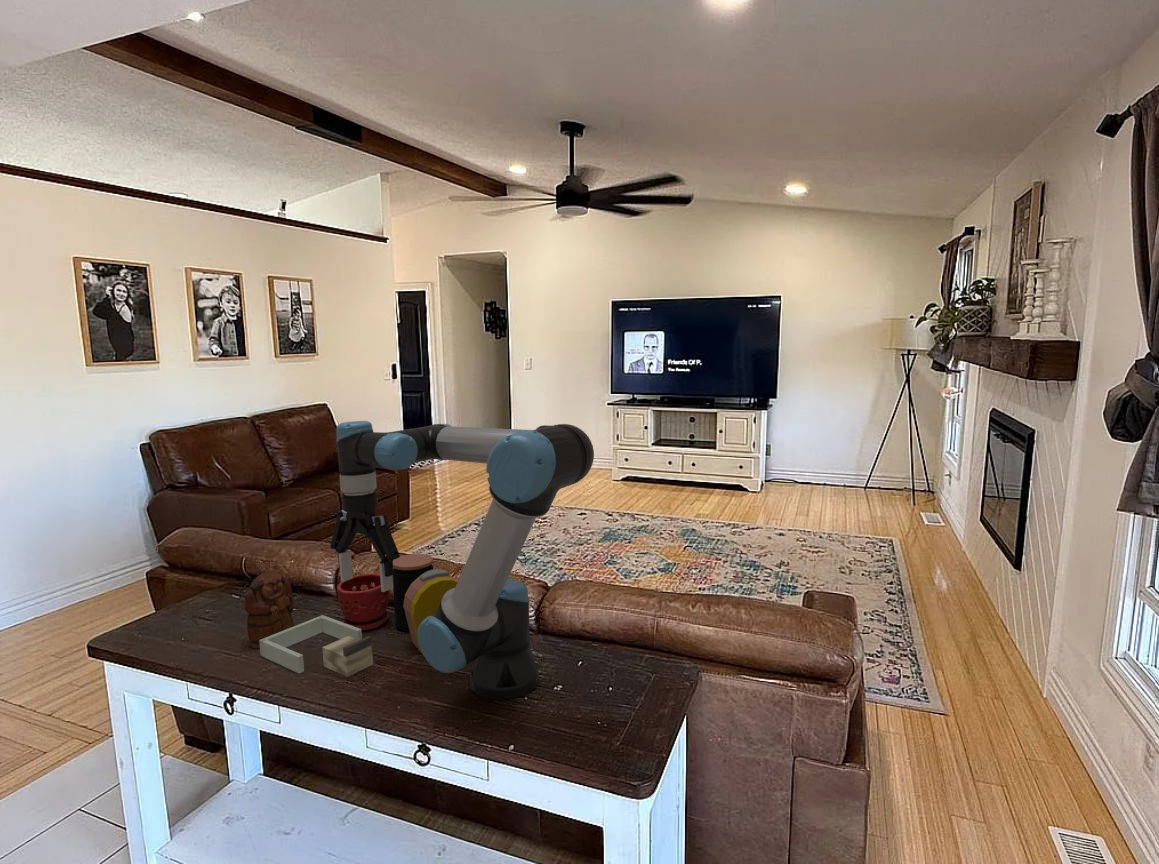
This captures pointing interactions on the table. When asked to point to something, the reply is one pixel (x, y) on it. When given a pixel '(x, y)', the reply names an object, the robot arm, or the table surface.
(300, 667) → the dock
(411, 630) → the alarm clock
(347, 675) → the beige block
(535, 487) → the robot arm
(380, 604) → the plant pot
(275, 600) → the wooden figurine
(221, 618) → the table surface
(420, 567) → the coffee jar
